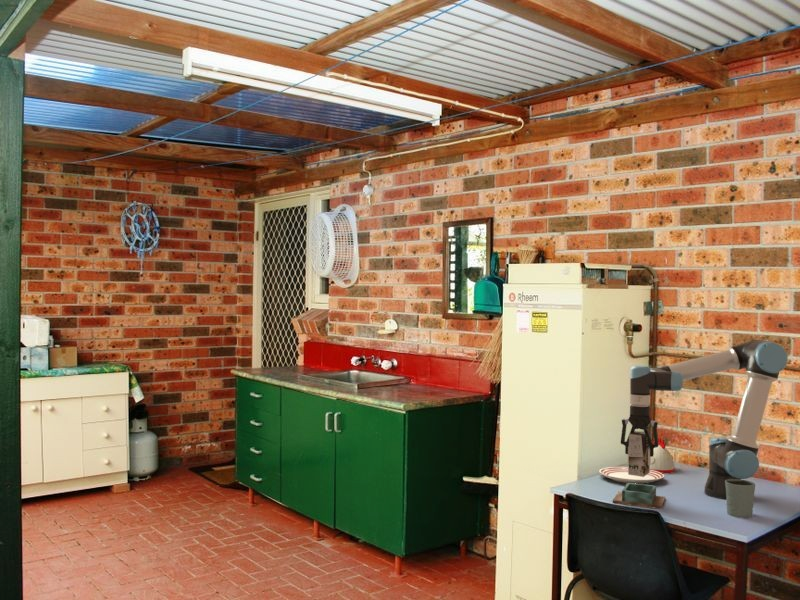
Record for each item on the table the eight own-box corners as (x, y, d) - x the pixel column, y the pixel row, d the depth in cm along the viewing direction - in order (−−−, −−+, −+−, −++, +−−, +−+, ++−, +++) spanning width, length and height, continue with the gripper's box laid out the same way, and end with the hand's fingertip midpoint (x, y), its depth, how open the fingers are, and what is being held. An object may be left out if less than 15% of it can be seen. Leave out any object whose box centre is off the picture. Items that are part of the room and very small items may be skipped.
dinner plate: (601, 470, 344) (601, 463, 344) (664, 475, 335) (664, 468, 335) (596, 484, 318) (596, 476, 318) (664, 489, 309) (664, 481, 309)
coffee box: (644, 477, 285) (645, 435, 285) (627, 474, 288) (628, 433, 288) (650, 472, 293) (650, 432, 293) (633, 470, 296) (634, 430, 296)
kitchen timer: (658, 474, 335) (658, 441, 335) (636, 468, 348) (637, 436, 348) (681, 472, 341) (681, 439, 341) (659, 466, 354) (659, 434, 354)
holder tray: (665, 499, 294) (665, 486, 294) (661, 508, 280) (661, 495, 280) (618, 493, 301) (618, 481, 301) (612, 502, 288) (612, 489, 288)
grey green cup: (722, 515, 272) (723, 482, 272) (726, 509, 280) (727, 477, 280) (753, 520, 266) (753, 486, 266) (756, 513, 275) (756, 481, 275)
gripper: (612, 404, 291) (611, 462, 291) (665, 408, 283) (664, 468, 283) (615, 402, 298) (615, 459, 298) (667, 405, 290) (666, 464, 290)
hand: (639, 463), depth 291 cm, fingers closed on coffee box, 7 cm apart
